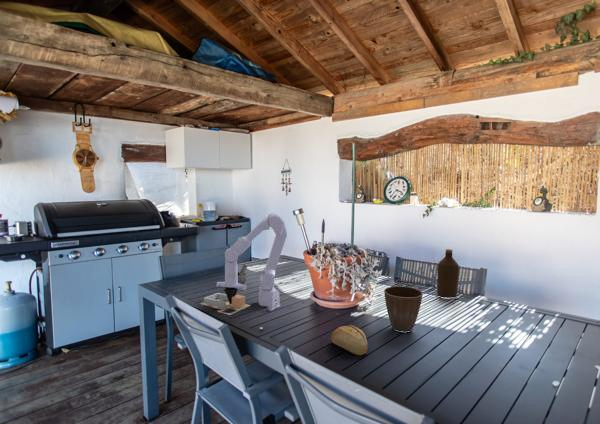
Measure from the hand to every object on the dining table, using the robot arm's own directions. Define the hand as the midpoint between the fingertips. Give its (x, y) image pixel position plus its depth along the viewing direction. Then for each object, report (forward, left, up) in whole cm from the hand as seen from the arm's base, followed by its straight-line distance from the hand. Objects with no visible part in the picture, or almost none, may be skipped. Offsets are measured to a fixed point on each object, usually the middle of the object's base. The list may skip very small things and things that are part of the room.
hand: (231, 303), depth 173 cm
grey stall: (+6, 0, -1) cm, 7 cm away
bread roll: (-63, +8, -3) cm, 63 cm away
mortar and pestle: (+20, -29, -3) cm, 35 cm away
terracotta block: (-4, -1, -1) cm, 4 cm away
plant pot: (-74, -19, -3) cm, 76 cm away
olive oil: (-82, -74, -3) cm, 111 cm away
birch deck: (+3, +2, -3) cm, 5 cm away
